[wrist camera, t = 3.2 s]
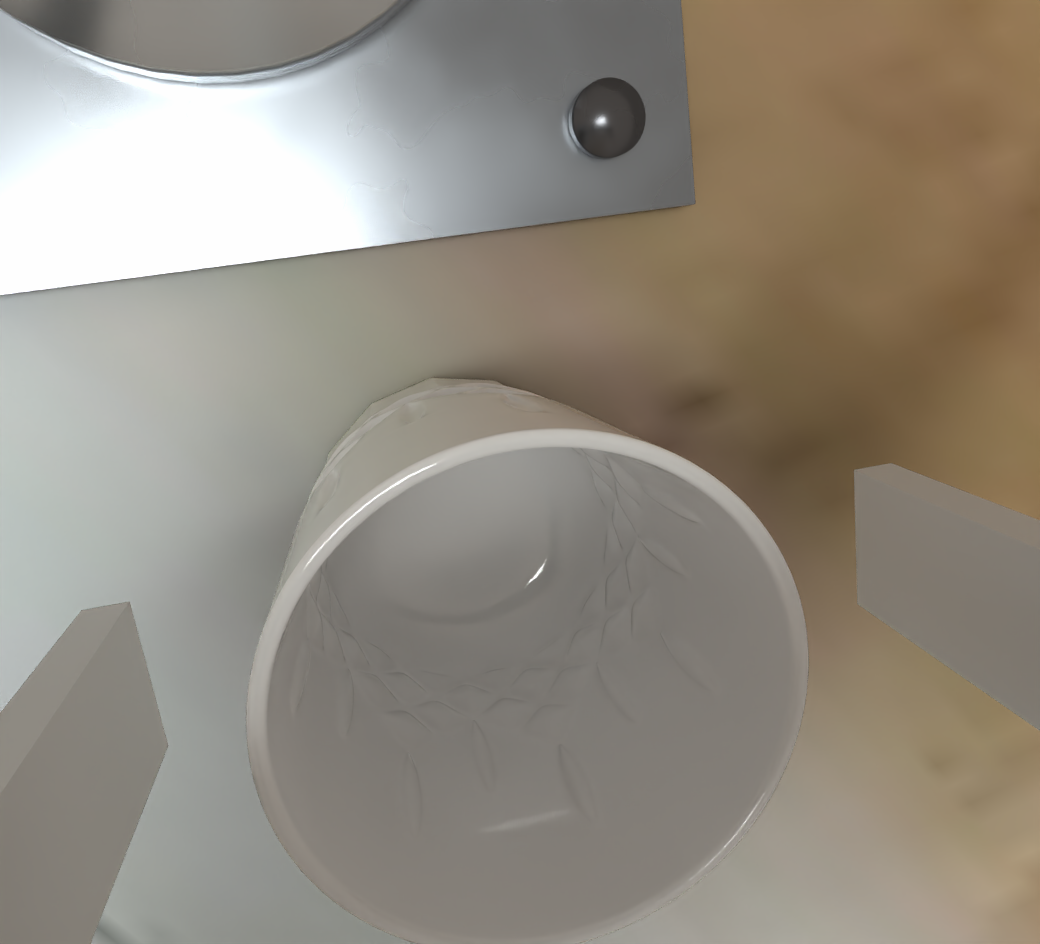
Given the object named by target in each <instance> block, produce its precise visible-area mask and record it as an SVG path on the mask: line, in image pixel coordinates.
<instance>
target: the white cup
mask: <svg viewBox="0 0 1040 944" xmlns="http://www.w3.org/2000/svg"><path fill="white" fill-rule="evenodd" d="M808 673H809V652H808V638H807V630H806V623H805V618H804V613H803V609H802V604H801V601H800V597H799V594H798V591H797V588H796V585H795V582H794V579H793V577H792V574H791V572H790V570H789V567H788V565H787V563H786V561H785V559H784V557H783V555H782V553H781V552H780V550H779V548H778V546H777V545H776V543H775V541H774V540H773V538H772V537H771V535H770V534H769V532H768V531H767V529H766V528H765V526H764V525H763V524H762V522H761V521H760V520H759V519H758V517H757V516H756V515H755V514H754V513H753V511H752V510H751V509H750V508H749V507H748V506H747V505H746V504H745V503H744V502H743V501H742V500H741V499H740V498H739V497H738V496H737V495H736V494H735V493H734V492H733V491H732V490H730V489H729V488H728V487H727V486H726V485H724V484H723V483H722V482H721V481H719V480H718V479H717V478H715V477H714V476H713V475H711V474H710V473H708V472H707V471H705V470H704V469H702V468H700V467H699V466H697V465H696V464H694V463H692V462H690V461H689V460H687V459H685V458H683V457H681V456H679V455H677V454H675V453H673V452H671V451H668V450H666V449H664V448H661V447H659V446H657V445H654V444H652V443H650V442H647V441H645V440H643V439H641V438H638V437H636V436H634V435H631V434H629V433H627V432H625V431H622V430H620V429H618V428H616V427H614V426H611V425H609V424H607V423H605V422H603V421H600V420H598V419H596V418H594V417H592V416H590V415H587V414H585V413H583V412H581V411H579V410H576V409H574V408H572V407H570V406H567V405H565V404H563V403H560V402H557V401H554V400H551V399H548V398H545V397H542V396H539V395H537V394H534V393H531V392H528V391H525V390H521V389H517V388H512V387H508V386H504V385H503V384H501V383H499V382H497V381H494V380H475V379H449V378H429V379H427V380H424V381H422V382H420V383H417V384H415V385H413V386H410V387H408V388H406V389H404V390H401V391H399V392H397V393H394V394H392V395H390V396H387V397H385V398H383V399H380V400H378V401H376V402H373V403H371V404H370V405H369V407H368V408H367V409H366V410H365V411H364V412H363V413H362V415H361V416H360V417H359V418H358V419H357V420H356V422H355V423H354V424H353V425H352V426H351V427H350V429H349V430H348V431H347V432H346V433H345V434H344V435H343V437H342V438H341V439H340V440H339V441H338V442H337V444H336V445H335V446H334V447H333V448H332V449H331V450H330V452H329V454H328V457H327V461H326V465H325V467H324V468H323V470H322V472H321V473H320V475H319V477H318V479H317V480H316V482H315V484H314V486H313V489H312V491H311V493H310V496H309V498H308V501H307V503H306V506H305V508H304V510H303V512H302V514H301V517H300V519H299V522H298V525H297V528H296V531H295V534H294V537H293V540H292V543H291V546H290V549H289V552H288V555H287V559H286V562H285V565H284V568H283V571H282V574H281V577H280V580H279V583H278V586H277V589H276V592H275V595H274V598H273V601H272V604H271V607H270V610H269V613H268V616H267V619H266V622H265V624H264V627H263V630H262V633H261V636H260V639H259V642H258V645H257V649H256V652H255V656H254V660H253V664H252V669H251V674H250V680H249V686H248V694H247V706H246V734H247V747H248V754H249V761H250V766H251V771H252V775H253V779H254V783H255V786H256V790H257V793H258V796H259V799H260V802H261V804H262V807H263V809H264V812H265V814H266V816H267V819H268V821H269V823H270V825H271V827H272V829H273V831H274V832H275V834H276V836H277V838H278V839H279V841H280V843H281V844H282V846H283V847H284V849H285V850H286V852H287V853H288V855H289V856H290V857H291V859H292V860H293V861H294V863H295V864H296V865H297V866H298V867H299V869H300V870H301V871H302V872H303V873H304V874H305V875H306V877H307V878H308V879H309V880H310V881H311V882H312V883H313V884H314V885H315V886H316V887H317V888H318V889H320V890H321V891H322V892H323V893H324V894H325V895H326V896H328V897H329V898H330V899H331V900H332V901H334V902H335V903H336V904H338V905H339V906H340V907H342V908H343V909H345V910H346V911H348V912H349V913H351V914H352V915H354V916H355V917H357V918H359V919H360V920H362V921H364V922H366V923H368V924H370V925H371V926H373V927H375V928H377V929H380V930H382V931H384V932H386V933H389V934H391V935H393V936H396V937H399V938H401V939H404V940H407V941H410V942H413V943H417V944H579V943H583V942H586V941H589V940H592V939H595V938H598V937H601V936H604V935H607V934H609V933H612V932H614V931H617V930H619V929H621V928H624V927H626V926H628V925H630V924H632V923H634V922H636V921H638V920H640V919H642V918H644V917H646V916H648V915H650V914H652V913H653V912H655V911H657V910H659V909H660V908H662V907H664V906H665V905H667V904H668V903H670V902H671V901H673V900H674V899H676V898H677V897H679V896H680V895H682V894H683V893H684V892H686V891H687V890H688V889H690V888H691V887H692V886H694V885H695V884H696V883H697V882H699V881H700V880H701V879H702V878H703V877H705V876H706V875H707V874H708V873H709V872H710V871H711V870H713V869H714V868H715V867H716V866H717V865H718V864H719V863H720V862H721V861H722V860H723V859H724V858H725V857H726V856H727V855H728V854H729V853H730V852H731V851H732V849H733V848H734V847H735V846H736V845H737V844H738V843H739V842H740V840H741V839H742V838H743V837H744V836H745V834H746V833H747V832H748V831H749V829H750V828H751V827H752V825H753V824H754V823H755V821H756V820H757V818H758V817H759V815H760V814H761V812H762V811H763V809H764V808H765V806H766V805H767V803H768V801H769V800H770V798H771V796H772V795H773V793H774V791H775V789H776V787H777V785H778V784H779V782H780V780H781V777H782V775H783V773H784V771H785V769H786V767H787V764H788V762H789V759H790V757H791V754H792V751H793V749H794V746H795V743H796V740H797V737H798V733H799V730H800V726H801V722H802V718H803V713H804V708H805V702H806V696H807V687H808Z"/></svg>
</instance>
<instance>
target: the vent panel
mask: <svg viewBox="0 0 1040 944" xmlns="http://www.w3.org/2000/svg"><path fill="white" fill-rule="evenodd" d="M692 204H695V192H694V178H693V164H692V150H691V136H690V122H689V108H688V94H687V80H686V66H685V52H684V38H683V24H682V10H681V0H0V295H7V294H14V293H22V292H30V291H37V290H45V289H53V288H60V287H68V286H76V285H83V284H91V283H99V282H106V281H114V280H121V279H129V278H137V277H144V276H152V275H160V274H167V273H175V272H183V271H190V270H198V269H206V268H213V267H221V266H228V265H236V264H244V263H251V262H259V261H267V260H274V259H282V258H290V257H297V256H305V255H313V254H320V253H328V252H335V251H343V250H351V249H358V248H366V247H374V246H381V245H389V244H397V243H404V242H412V241H420V240H427V239H435V238H442V237H450V236H458V235H465V234H473V233H481V232H488V231H496V230H504V229H511V228H519V227H527V226H534V225H542V224H549V223H557V222H565V221H572V220H580V219H588V218H595V217H603V216H611V215H618V214H626V213H634V212H641V211H649V210H656V209H664V208H672V207H679V206H686V205H692Z"/></svg>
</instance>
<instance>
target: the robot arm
mask: <svg viewBox="0 0 1040 944" xmlns="http://www.w3.org/2000/svg"><path fill="white" fill-rule="evenodd" d="M854 490H855V529H856V567H857V604H858V605H860V606H861V607H863V608H864V609H865V610H867V611H868V612H870V613H871V614H873V615H874V616H875V617H877V618H878V619H880V620H881V621H883V622H884V623H886V624H887V625H888V626H890V627H891V628H893V629H894V630H896V631H897V632H898V633H900V634H901V635H903V636H904V637H906V638H907V639H909V640H910V641H911V642H913V643H914V644H916V645H917V646H919V647H920V648H922V649H923V650H924V651H926V652H927V653H929V654H930V655H932V656H933V657H934V658H936V659H937V660H939V661H940V662H942V663H943V664H945V665H946V666H947V667H949V668H950V669H952V670H953V671H955V672H956V673H957V674H959V675H960V676H962V677H963V678H965V679H966V680H968V681H969V682H970V683H972V684H973V685H975V686H976V687H978V688H979V689H981V690H982V691H983V692H985V693H986V694H988V695H989V696H991V697H992V698H993V699H995V700H996V701H998V702H999V703H1001V704H1002V705H1004V706H1005V707H1006V708H1008V709H1009V710H1011V711H1012V712H1014V713H1015V714H1017V715H1018V716H1019V717H1021V718H1022V719H1024V720H1025V721H1027V722H1028V723H1029V724H1031V725H1032V726H1034V727H1035V728H1037V729H1038V730H1040V520H1037V519H1035V518H1032V517H1030V516H1027V515H1025V514H1022V513H1019V512H1017V511H1014V510H1012V509H1009V508H1006V507H1004V506H1001V505H999V504H996V503H993V502H991V501H988V500H986V499H983V498H980V497H978V496H975V495H973V494H970V493H967V492H965V491H962V490H960V489H957V488H954V487H952V486H949V485H947V484H944V483H942V482H939V481H936V480H934V479H931V478H929V477H926V476H923V475H921V474H918V473H916V472H913V471H910V470H908V469H905V468H903V467H900V466H897V465H895V464H892V463H889V464H883V465H878V466H872V467H867V468H861V469H856V470H854ZM167 748H168V743H167V739H166V735H165V732H164V728H163V724H162V721H161V717H160V713H159V709H158V706H157V702H156V698H155V694H154V691H153V687H152V683H151V680H150V676H149V672H148V668H147V665H146V661H145V657H144V653H143V650H142V646H141V642H140V639H139V635H138V631H137V627H136V624H135V620H134V616H133V612H132V609H131V605H130V602H125V603H119V604H114V605H108V606H103V607H97V608H92V609H86V610H81V612H80V613H79V614H78V615H77V617H76V618H75V619H74V620H73V622H72V623H71V624H70V626H69V627H68V628H67V629H66V631H65V632H64V633H63V634H62V636H61V637H60V638H59V639H58V641H57V642H56V643H55V644H54V646H53V647H52V648H51V650H50V651H49V652H48V653H47V655H46V656H45V657H44V658H43V660H42V661H41V662H40V663H39V665H38V666H37V667H36V669H35V670H34V671H33V672H32V674H31V675H30V676H29V677H28V679H27V680H26V681H25V682H24V684H23V685H22V686H21V687H20V689H19V690H18V691H17V693H16V694H15V695H14V696H13V698H12V699H11V700H10V701H9V703H8V704H7V705H6V706H5V708H4V709H3V710H2V711H1V713H0V944H91V941H92V939H93V936H94V933H95V931H96V928H97V926H98V923H99V921H100V918H101V916H102V913H103V911H104V908H105V905H106V903H107V900H108V898H109V895H110V893H111V890H112V888H113V885H114V883H115V880H116V878H117V875H118V872H119V870H120V867H121V865H122V862H123V860H124V857H125V855H126V852H127V850H128V847H129V844H130V842H131V839H132V837H133V834H134V832H135V829H136V827H137V824H138V822H139V819H140V816H141V814H142V811H143V809H144V806H145V804H146V801H147V799H148V796H149V794H150V791H151V789H152V786H153V783H154V781H155V778H156V776H157V773H158V771H159V768H160V766H161V763H162V761H163V758H164V755H165V753H166V750H167Z"/></svg>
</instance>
